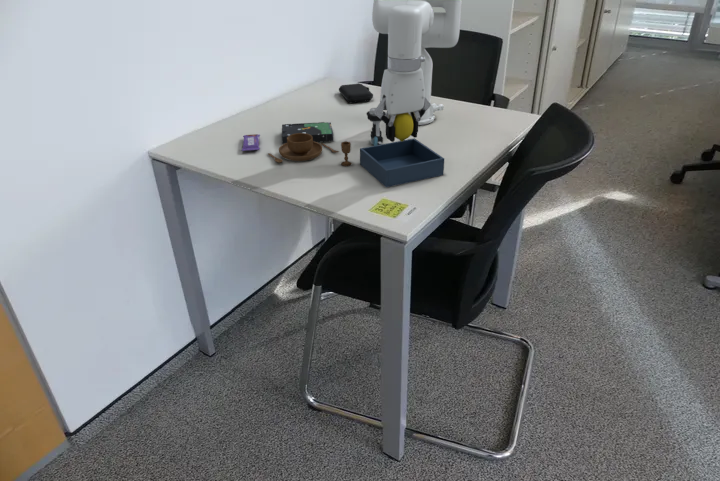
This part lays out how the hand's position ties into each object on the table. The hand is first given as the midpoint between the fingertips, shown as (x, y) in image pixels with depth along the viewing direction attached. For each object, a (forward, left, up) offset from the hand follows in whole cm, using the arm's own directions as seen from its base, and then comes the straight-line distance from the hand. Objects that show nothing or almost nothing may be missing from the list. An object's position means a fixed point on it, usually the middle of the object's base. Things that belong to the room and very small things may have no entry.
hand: (401, 137), depth 135 cm
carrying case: (-15, -61, -9) cm, 64 cm away
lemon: (0, 0, -1) cm, 1 cm away
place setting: (+19, -17, -9) cm, 27 cm away
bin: (0, 0, -9) cm, 9 cm away
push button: (-2, -18, -9) cm, 20 cm away
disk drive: (+14, -32, -9) cm, 36 cm away
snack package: (+31, -33, -9) cm, 46 cm away
